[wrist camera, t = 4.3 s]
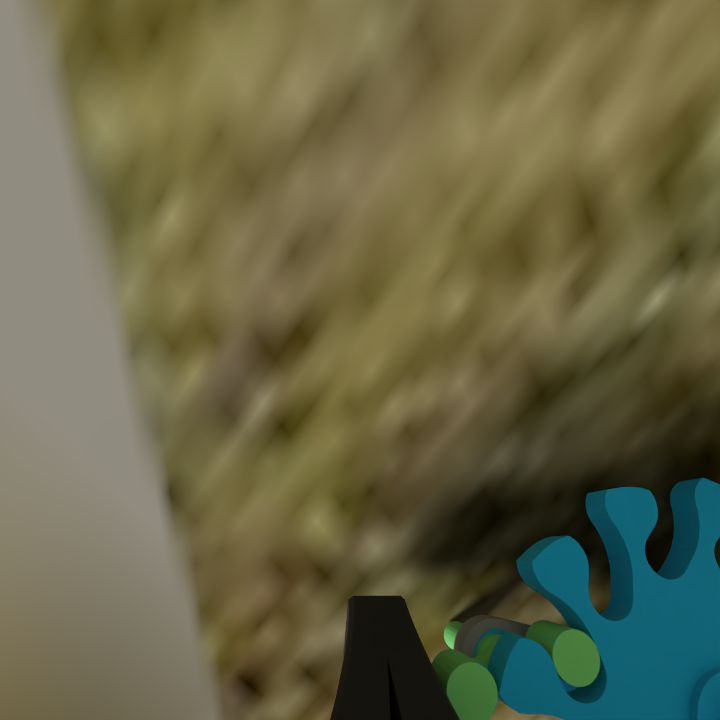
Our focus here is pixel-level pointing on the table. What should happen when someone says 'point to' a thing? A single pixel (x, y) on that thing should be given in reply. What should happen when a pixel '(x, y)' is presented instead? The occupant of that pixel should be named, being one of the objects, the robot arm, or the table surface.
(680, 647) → the gear
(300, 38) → the table surface
